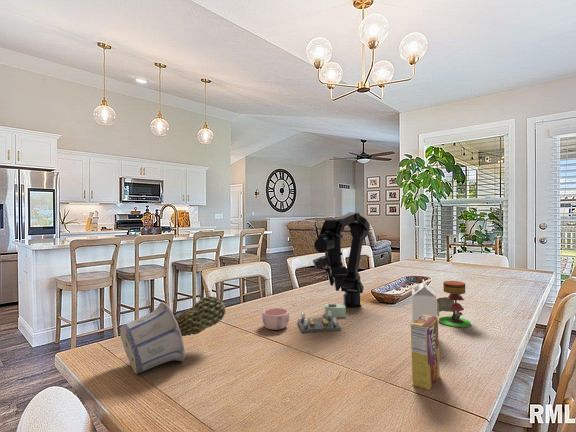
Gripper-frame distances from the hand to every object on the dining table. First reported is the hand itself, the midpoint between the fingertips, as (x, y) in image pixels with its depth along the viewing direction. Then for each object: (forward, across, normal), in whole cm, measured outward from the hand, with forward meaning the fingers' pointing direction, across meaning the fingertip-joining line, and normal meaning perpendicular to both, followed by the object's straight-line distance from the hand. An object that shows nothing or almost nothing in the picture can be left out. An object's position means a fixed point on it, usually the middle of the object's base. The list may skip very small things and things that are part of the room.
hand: (334, 288), depth 135 cm
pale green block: (+11, 0, 0) cm, 11 cm away
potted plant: (+11, +31, -55) cm, 64 cm away
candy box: (+11, +53, +10) cm, 55 cm away
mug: (+11, +9, -25) cm, 29 cm away
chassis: (+11, +11, -9) cm, 18 cm away
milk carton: (+11, +28, +23) cm, 38 cm away
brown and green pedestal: (+11, +15, +42) cm, 46 cm away
